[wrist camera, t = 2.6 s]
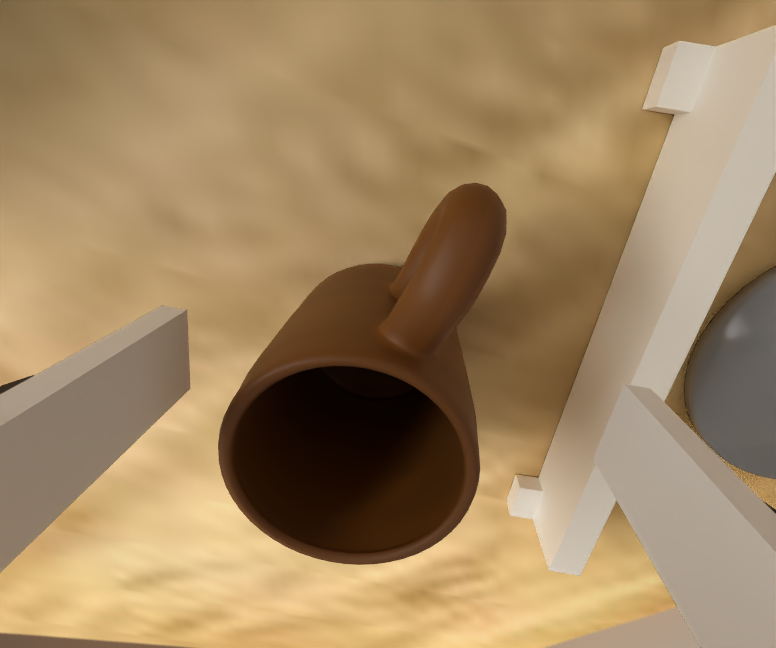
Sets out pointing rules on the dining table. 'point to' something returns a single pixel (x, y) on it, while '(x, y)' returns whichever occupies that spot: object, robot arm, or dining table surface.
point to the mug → (369, 401)
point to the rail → (661, 271)
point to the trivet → (738, 379)
